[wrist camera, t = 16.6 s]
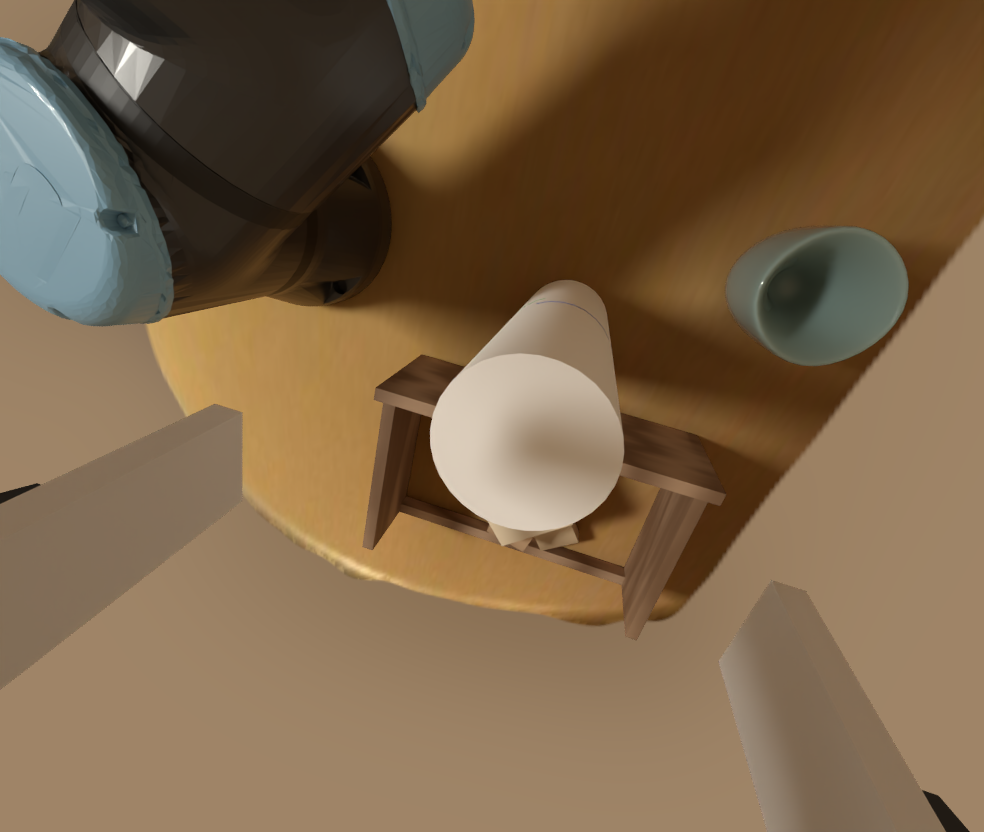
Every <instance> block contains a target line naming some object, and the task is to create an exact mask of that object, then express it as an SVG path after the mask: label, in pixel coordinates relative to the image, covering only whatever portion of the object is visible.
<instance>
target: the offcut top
mask: <svg viewBox="0 0 984 832" xmlns="http://www.w3.org/2000/svg"><path fill="white" fill-rule="evenodd" d="M487 521H488V520H487ZM488 523H489V525H490V526H491V528H492V530H493V532H494V533H495V535H496V537H497V539H498V540H499V542H500V544H501V546H504V545H507V544H511V543H514V542H517V541H521V540H524V539H527V538H531V537H534V536H537V535H540V534H544V533H547V532H550V531H554V530H557V529H560V528H556V529H550V530H544V531H523V530H517V529H511V528H507V527H504V526H501V525H497V524H494V523H492V522H490V521H488ZM570 525H573V523H572V524H569V525H566V526H564V527H567V526H570ZM561 528H563V527H561Z"/></svg>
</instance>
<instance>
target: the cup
mask: <svg viewBox="0 0 984 832" xmlns="http://www.w3.org/2000/svg"><path fill="white" fill-rule="evenodd" d="M908 287H909V283H908V276H907V270H906V267H905V265H904V262H903V260H902V258H901V256H900V255H899V253H898V252H897V250H896V249H895V247H894V246H893V245H892V244H891V243H889V242H888V241H887V240H886V239H885V238H884V237H882V236H880V235H878V234H877V233H875V232H873V231H871V230H868V229H864V228H861V227H857V226H845V225H823V226H805V227H799V228H794V229H789V230H785V231H781V232H779V233H776V234H774V235H771V236H768V237H766V238H765V239H763V240H761V241H759V242H757V243H756V244H754V245H753V246H752V247H750V248H749V249H748V250H746V251H745V252H744V253H743V254H742V255H741V256H740V257H739V258H738V259H737V260H736V262H735V263H734V265H733V266H732V268H731V269H730V272H729V274H728V276H727V279H726V284H725V298H726V302H727V306H728V309H729V311H730V313H731V315H732V317H733V319H734V320H735V321H736V323H737V324H738V325H739V327H740V328H741V329H742V330H743V331H744V332H745V333H746V334H747V335H748V336H749V337H751V338H752V339H753V340H754V341H755V342H756V343H758V344H759V345H760V346H762V347H763V348H765V349H766V350H768V351H769V352H771V353H772V354H774V355H776V356H777V357H779V358H781V359H783V360H785V361H787V362H790V363H794V364H797V365H802V366H821V365H829V364H833V363H836V362H839V361H843V360H846V359H848V358H850V357H852V356H855V355H857V354H859V353H861V352H862V351H864V350H866V349H867V348H869V347H871V346H872V345H874V344H875V343H876V342H877V341H878V340H880V339H881V338H882V337H883V336H885V335H886V334H887V332H888V331H889V330H890V329H891V328H892V327H893V326H894V325H895V324H896V322H897V320H898V319H899V317H900V316H901V314H902V312H903V310H904V307H905V304H906V301H907V298H908Z"/></svg>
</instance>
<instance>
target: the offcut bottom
mask: <svg viewBox="0 0 984 832" xmlns="http://www.w3.org/2000/svg"><path fill="white" fill-rule="evenodd" d="M534 537H535V539H536V541H537V544H538V546H539V548H540V550H541V551H542V550H547V549H552V548H556V547H561V546H565V545H570V544H574V543H579V530H578V528H577V525H576V523H573V525H570V526H567V527H563V528H560V529H557V530H554V531H550V532H547V533H544V534H540V535H537V536H534Z"/></svg>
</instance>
